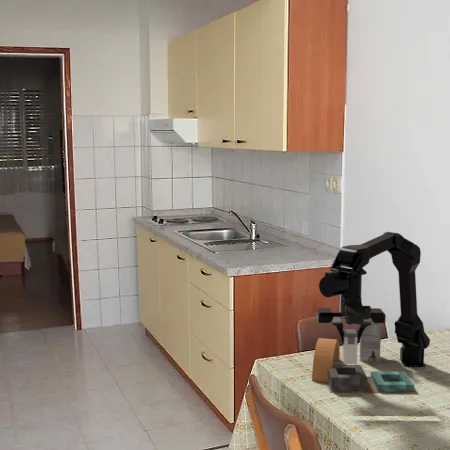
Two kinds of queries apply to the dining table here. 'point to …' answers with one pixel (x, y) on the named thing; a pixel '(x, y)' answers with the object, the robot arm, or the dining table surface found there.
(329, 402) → the dining table surface
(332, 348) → the arch
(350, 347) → the plug
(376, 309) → the robot arm
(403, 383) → the dock
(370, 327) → the coffee box
